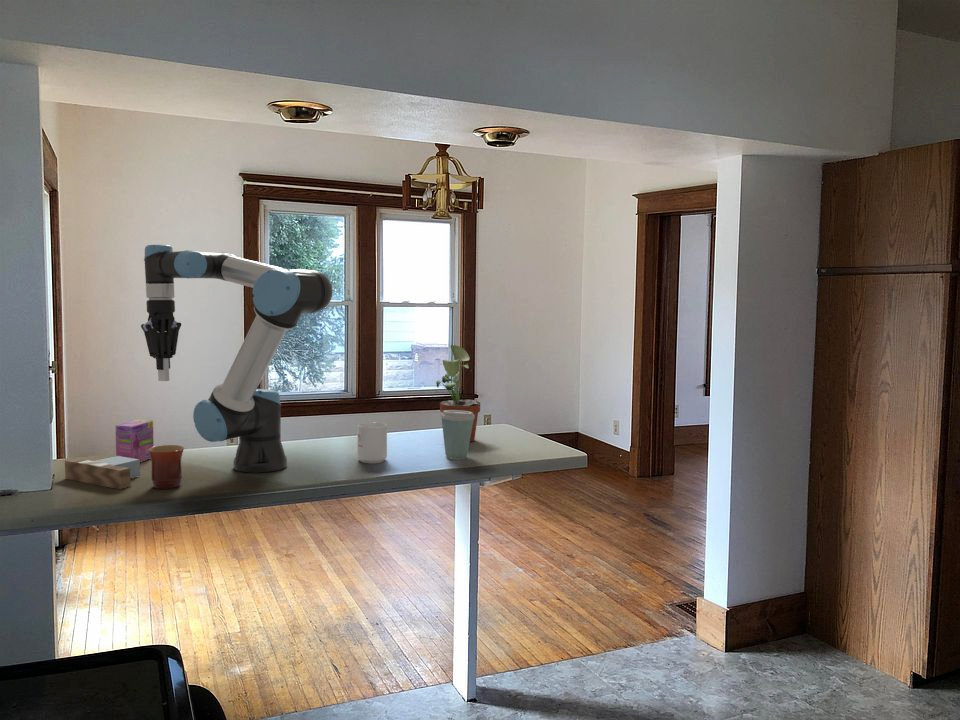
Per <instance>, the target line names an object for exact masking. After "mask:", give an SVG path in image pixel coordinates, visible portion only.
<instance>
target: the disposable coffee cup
mask: <svg viewBox="0 0 960 720" xmlns="http://www.w3.org/2000/svg"><path fill="white" fill-rule="evenodd" d="M441 413H442V412H441ZM440 418H441V425H442V433H443V443H444V451H445V456H446V458H447V459H449V460H455V461H457V460H458V461H459V460H465V459H466V458H467V456H468V454H469V453H468V452H469V447H470V443H471V442H470V437H471V431H472V426H473V420H474V418H475V416H474V414H473V413H472V412H469V411H461V410H444V411H443V413H442V414H440Z"/></svg>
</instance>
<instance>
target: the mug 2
mask: <svg viewBox="0 0 960 720" xmlns="http://www.w3.org/2000/svg"><path fill="white" fill-rule="evenodd" d="M387 432H388V425H387V423H385V422H384V423H383V422H375V421H374V422H373V421H372V422H371V421H370V422H369V421H368V422H363V423H359V424H357V459H358V460H359V461H360V462H361V463H364V464H380V463H383V462H385V460H386V459H387V457H388V455H387V454H388V452H387V451H388V449H387V448H388V433H387Z"/></svg>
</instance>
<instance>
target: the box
mask: <svg viewBox="0 0 960 720" xmlns="http://www.w3.org/2000/svg"><path fill="white" fill-rule="evenodd" d="M152 447H155V446H154V420H151V419H134V420H131V421H128V422H127V421H126V422H123V423H120V424H117V425H115V456H122V457H128V458H133V459H139V460H140V462H141V461H144V460H146V461H148V460H147V459H149V460H151V457H150V454H149V452H148V449H149V448H152ZM144 462H145V461H144ZM141 463H142V462H141Z"/></svg>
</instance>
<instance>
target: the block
mask: <svg viewBox="0 0 960 720" xmlns="http://www.w3.org/2000/svg"><path fill="white" fill-rule="evenodd" d="M95 461H96V462H102V463H107V464H111V465H115V466H121V467H126V468H130V478H132V479H135V478H134V477H136V478H138V477H137V476H140V477H141V471H140V470H141V466H140V465H141V464H140V460H139V459H133V458H128V457H122V456H116V455H115V456H111V457H106V458H101V459H96V460H95Z"/></svg>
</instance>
